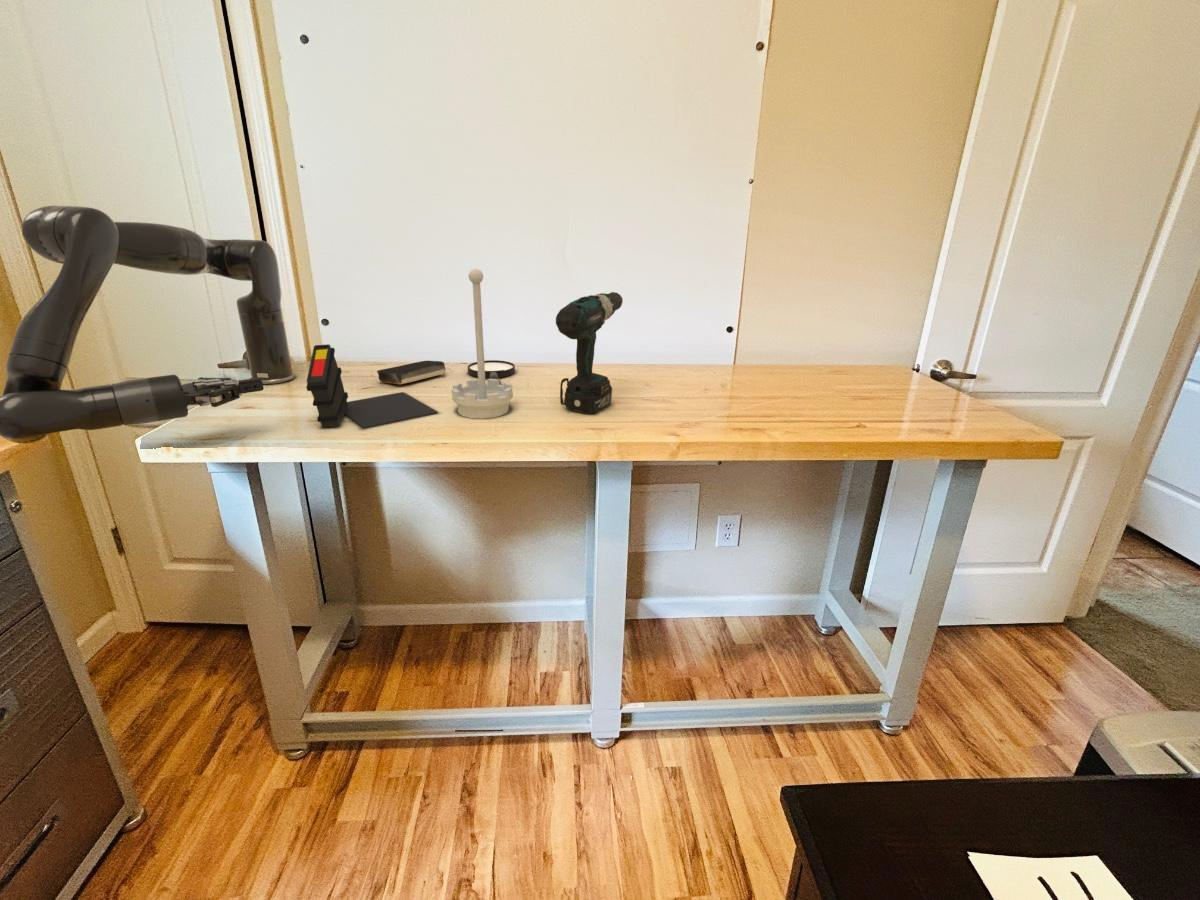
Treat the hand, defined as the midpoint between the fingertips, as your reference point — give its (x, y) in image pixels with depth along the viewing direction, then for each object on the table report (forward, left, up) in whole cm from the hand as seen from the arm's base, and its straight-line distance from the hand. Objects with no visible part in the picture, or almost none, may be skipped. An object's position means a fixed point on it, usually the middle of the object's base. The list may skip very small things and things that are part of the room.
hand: (261, 383), depth 114 cm
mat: (-1, +23, -10) cm, 25 cm away
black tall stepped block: (0, +12, -10) cm, 16 cm away
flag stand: (+12, +40, -10) cm, 43 cm away
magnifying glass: (-9, +55, -10) cm, 57 cm away
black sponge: (-20, +38, -10) cm, 44 cm away
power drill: (+23, +62, -10) cm, 67 cm away
